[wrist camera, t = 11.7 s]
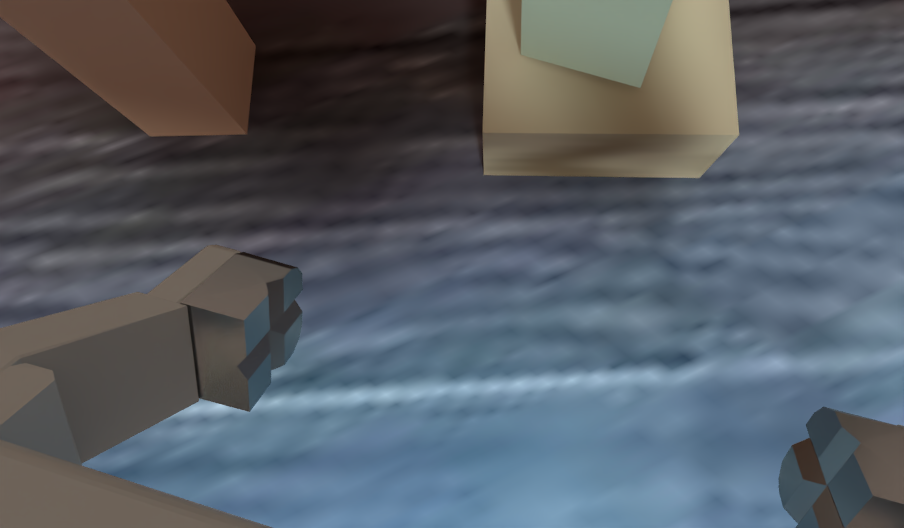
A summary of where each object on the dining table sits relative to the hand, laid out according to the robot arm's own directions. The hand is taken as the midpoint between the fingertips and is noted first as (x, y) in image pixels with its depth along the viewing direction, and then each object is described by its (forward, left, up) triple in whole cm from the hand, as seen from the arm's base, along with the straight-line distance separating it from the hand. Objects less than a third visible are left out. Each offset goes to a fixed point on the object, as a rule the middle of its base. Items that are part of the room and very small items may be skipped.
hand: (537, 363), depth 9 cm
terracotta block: (-15, +8, -11) cm, 21 cm away
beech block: (0, +12, -12) cm, 17 cm away
